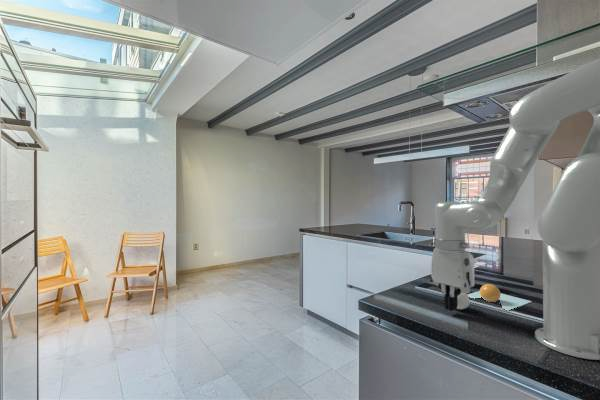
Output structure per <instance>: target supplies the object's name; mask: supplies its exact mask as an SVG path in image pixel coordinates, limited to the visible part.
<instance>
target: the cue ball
mask: <svg viewBox="0 0 600 400" xmlns="http://www.w3.org/2000/svg"><path fill="white" fill-rule="evenodd" d="M467 294H468V293H461V294H460V295H459V296H457V304H458V306H457V309H456V310H466V309H467V308H468V307H469V305H470V303H471V301H470V299H469V297H468V295H467Z"/></svg>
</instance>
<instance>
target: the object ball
mask: <svg viewBox="0 0 600 400" xmlns="http://www.w3.org/2000/svg"><path fill="white" fill-rule="evenodd" d="M479 291H480V295H481V297H482V298H483V299H484V300H486V301H488V302H496V301H497V300H499V298H500V296H501V294H500V293H501V291H500V289H499V288H498V287H497V286H496V285H495V284H491V283H485V284H483V285H481V287H480V289H479Z"/></svg>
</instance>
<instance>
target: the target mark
mask: <svg viewBox="0 0 600 400" xmlns="http://www.w3.org/2000/svg"><path fill="white" fill-rule="evenodd" d="M466 294H467V295H468V297H470V298H474V299H475V298H481V295H480V290H478V291H475V292H472V293H471V292H470V293H466ZM500 294H501V296H500V298H499V300H500V303H501V305H502V308H503V309H505V310H504V311H506V310H507V311H506V312H510V311H512V310H515V309H517V307H518V308H521V307H523V306H525V305H527V304H530V303H532V302H533V301H531V300H528V299H524V298H520V297H516V296H512V295H509V294H505V293H501V292H500ZM500 303H499V304H500ZM514 308H515V309H514ZM503 309H502V310H503ZM511 309H512V310H511ZM509 310H510V311H509Z"/></svg>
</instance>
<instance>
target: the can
mask: <svg viewBox="0 0 600 400" xmlns="http://www.w3.org/2000/svg"><path fill="white" fill-rule="evenodd" d="M468 253H469V256H470V260H471V266H472V276H473V284H472V286H469V287H470V289H471V288H473V287H475V257H474V255H473V253H471V252H468Z"/></svg>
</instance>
